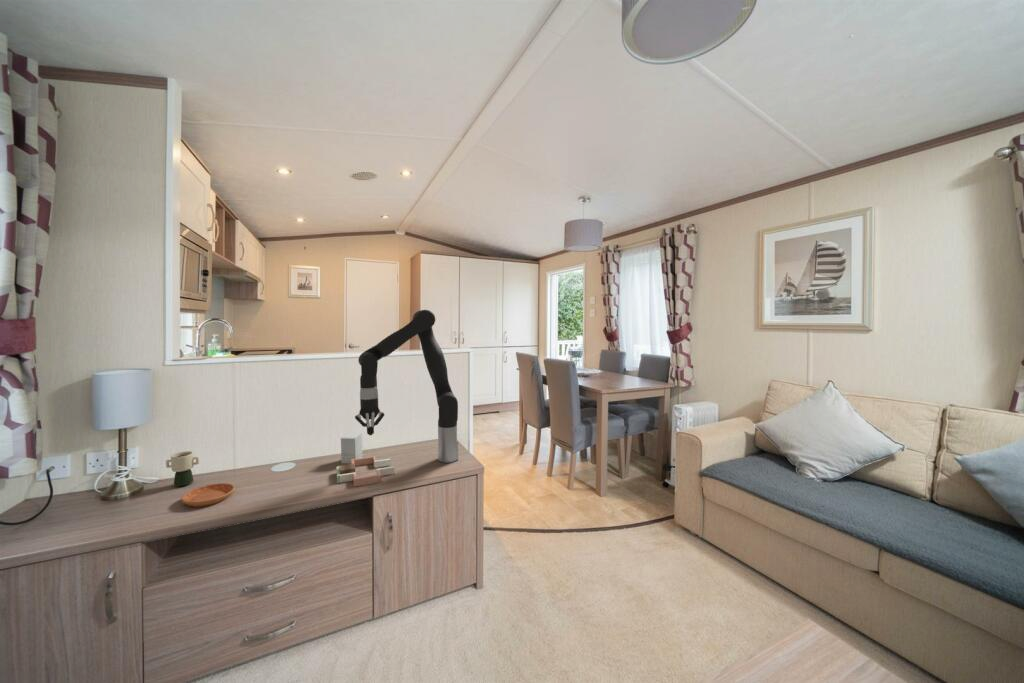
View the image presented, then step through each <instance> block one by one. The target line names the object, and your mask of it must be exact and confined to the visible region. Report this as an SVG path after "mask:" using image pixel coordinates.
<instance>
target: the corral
mask: <svg viewBox="0 0 1024 683" xmlns="http://www.w3.org/2000/svg"><path fill="white" fill-rule="evenodd" d="M351 464H355V467H356V466H363V465H372V464H373V467H374V469H376V474H373V475H365V476H361V477H357V476H358V475H357V472H356V471H355V472H354V473H347V474H341V475H340V465H339V466H336V484H340V483H347V482H352V481H353V486H354V487H358V486H359V487H360V486H366V485H371V484H376V483H381V482H383V481H382V477H383V476H388V475H395V466H394V465H393V466H392V458H385V459H377V457H376V455H373V456H365V457H363V458H357V459H351Z"/></svg>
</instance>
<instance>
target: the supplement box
mask: <svg viewBox="0 0 1024 683" xmlns="http://www.w3.org/2000/svg"><path fill="white" fill-rule="evenodd" d="M340 451H341V452H340V453H341V454H340V455H341V464H345V465H347V464H351V459H357V458H364V457H363V456H364V454H363V433H347V434H346V435H344V436H342V437H341V438H340Z"/></svg>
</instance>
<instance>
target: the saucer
mask: <svg viewBox="0 0 1024 683" xmlns="http://www.w3.org/2000/svg"><path fill="white" fill-rule="evenodd" d="M234 491H235V485H234V484H231V483H228V482H227V483H221V482H220V483H213V484H206V485H203V486H202V485H201V486H199V487H196V488H194V489H191V490H188V491H187V492H185V493H184V494H183V495H182V496H181V502H182V503H183V504H185V505H187V506H190V507H193V508H194V507H195V508H199V507H202V508H203V507H207V505H208V506H211V505H215V504H218V503H220V502H222V501H224V500H227V498H229V497H230V496H231V495H232V494H233V493H234Z"/></svg>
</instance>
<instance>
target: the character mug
mask: <svg viewBox="0 0 1024 683" xmlns="http://www.w3.org/2000/svg"><path fill="white" fill-rule="evenodd" d="M198 464H200V457H199V456H194V451H189V450H188V451H187V450H186V451H181V452H177V453H173V454H171V456H170V459H166V460H165V468H168V469H169V468H171V471H172V472H174V480H173V486H174V487H184V486H186V485H189V484H192V482H194V475H193V472H192V469H193V467H194V465H198Z"/></svg>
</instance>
